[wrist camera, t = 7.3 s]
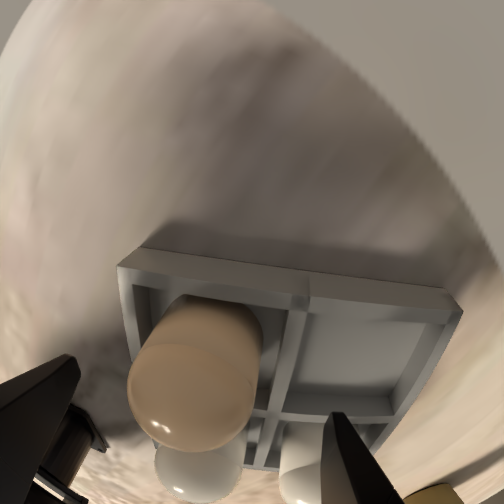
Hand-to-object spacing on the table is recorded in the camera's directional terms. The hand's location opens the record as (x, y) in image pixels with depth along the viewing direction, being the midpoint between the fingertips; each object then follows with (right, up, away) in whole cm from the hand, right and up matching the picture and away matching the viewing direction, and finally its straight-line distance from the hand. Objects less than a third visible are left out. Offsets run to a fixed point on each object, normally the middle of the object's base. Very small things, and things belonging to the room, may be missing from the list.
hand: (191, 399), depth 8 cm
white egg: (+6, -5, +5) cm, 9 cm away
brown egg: (0, +1, +3) cm, 4 cm away
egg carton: (+3, -2, +5) cm, 6 cm away
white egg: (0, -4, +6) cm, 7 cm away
